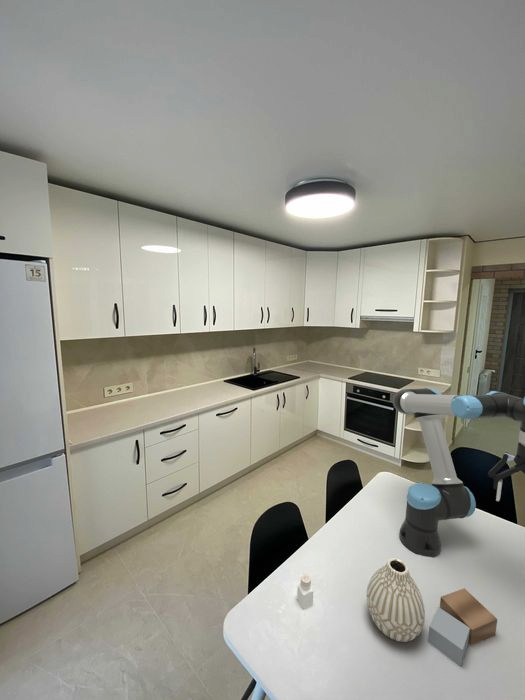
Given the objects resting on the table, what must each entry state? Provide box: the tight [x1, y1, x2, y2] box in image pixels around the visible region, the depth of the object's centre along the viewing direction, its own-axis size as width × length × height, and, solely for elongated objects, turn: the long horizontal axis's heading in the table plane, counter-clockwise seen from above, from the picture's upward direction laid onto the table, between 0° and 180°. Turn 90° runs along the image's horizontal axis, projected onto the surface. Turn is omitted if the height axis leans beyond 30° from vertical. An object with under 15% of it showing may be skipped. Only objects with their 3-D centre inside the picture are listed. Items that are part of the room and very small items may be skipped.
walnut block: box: [439, 587, 498, 647], centre depth 88 cm, size 10×10×6 cm
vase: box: [366, 557, 426, 643], centre depth 86 cm, size 16×16×20 cm
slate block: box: [427, 606, 470, 668], centre depth 82 cm, size 8×8×6 cm
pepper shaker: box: [296, 573, 314, 610], centre depth 93 cm, size 4×4×10 cm
